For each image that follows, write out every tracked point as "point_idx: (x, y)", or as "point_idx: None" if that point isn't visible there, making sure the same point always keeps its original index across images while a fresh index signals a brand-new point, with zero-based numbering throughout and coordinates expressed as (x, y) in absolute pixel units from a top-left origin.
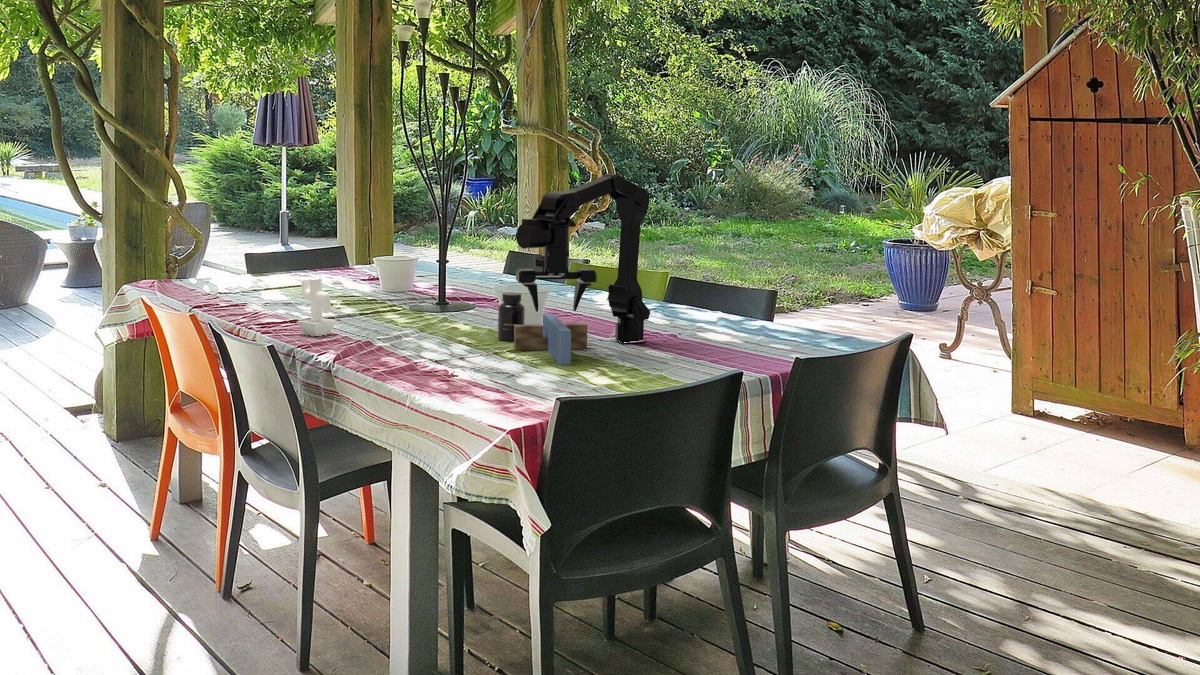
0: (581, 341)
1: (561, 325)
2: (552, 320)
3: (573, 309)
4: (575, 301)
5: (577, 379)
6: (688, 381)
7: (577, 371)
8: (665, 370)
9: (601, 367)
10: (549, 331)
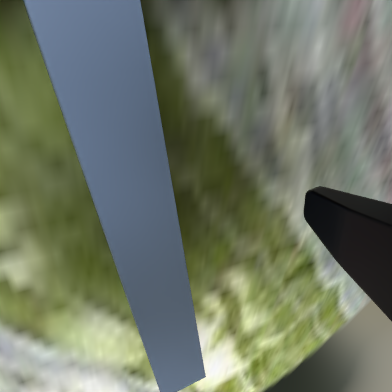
0: None
1: (169, 298)
2: (101, 152)
3: (311, 199)
4: (367, 291)
5: None
6: (355, 313)
7: None
8: None
9: (238, 272)
10: (59, 103)
